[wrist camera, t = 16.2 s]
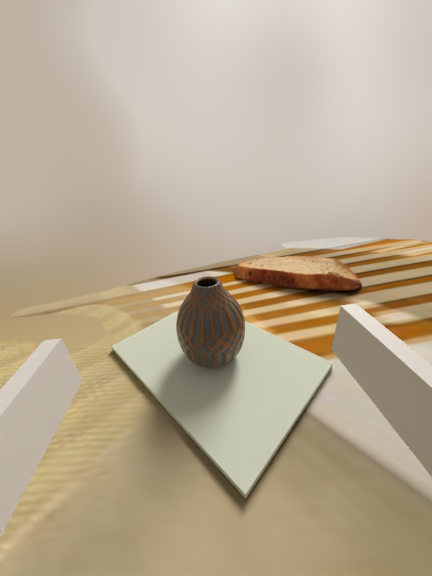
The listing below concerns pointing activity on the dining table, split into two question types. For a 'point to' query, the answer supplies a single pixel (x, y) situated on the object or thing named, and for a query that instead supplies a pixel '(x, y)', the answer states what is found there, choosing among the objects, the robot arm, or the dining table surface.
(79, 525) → the dining table surface
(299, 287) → the slice of bread
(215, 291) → the vase
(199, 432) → the mat
